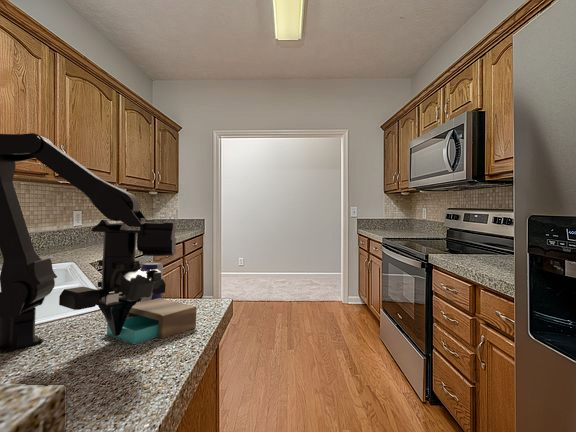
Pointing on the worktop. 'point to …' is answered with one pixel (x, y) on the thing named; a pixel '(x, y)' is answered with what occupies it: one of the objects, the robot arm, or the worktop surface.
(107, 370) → the worktop surface
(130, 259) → the robot arm
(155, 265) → the energy drink
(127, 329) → the tray
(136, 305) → the wooden drawer box
